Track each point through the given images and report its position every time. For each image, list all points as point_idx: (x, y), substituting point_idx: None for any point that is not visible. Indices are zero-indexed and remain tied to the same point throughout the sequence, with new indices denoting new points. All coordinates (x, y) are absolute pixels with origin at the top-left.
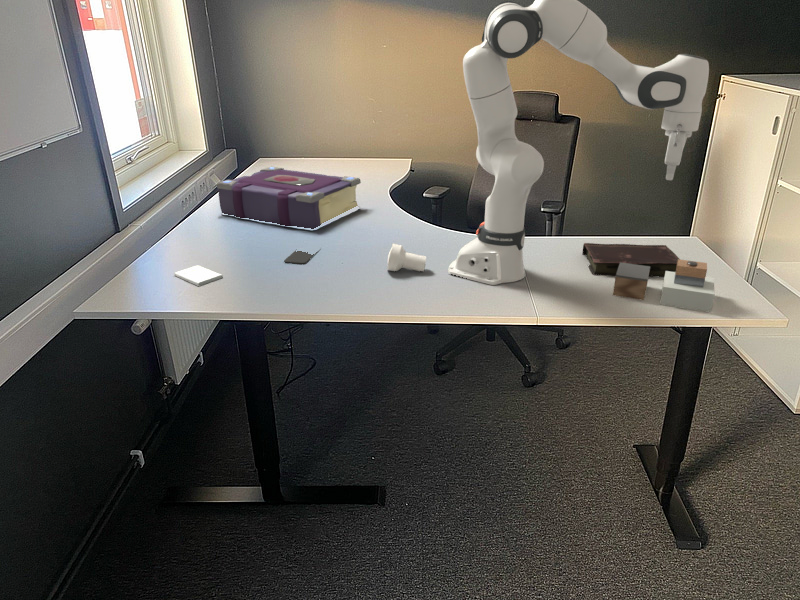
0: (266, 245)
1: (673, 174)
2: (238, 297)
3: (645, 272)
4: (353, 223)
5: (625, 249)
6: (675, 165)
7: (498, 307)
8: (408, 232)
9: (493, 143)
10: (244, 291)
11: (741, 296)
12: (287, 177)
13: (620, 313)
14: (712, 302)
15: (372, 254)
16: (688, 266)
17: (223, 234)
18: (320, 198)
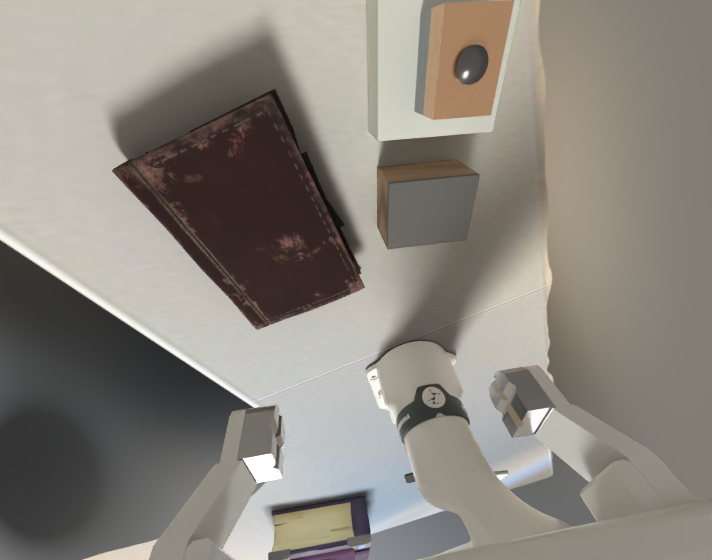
0: (413, 492)
1: (565, 399)
2: (523, 452)
3: (435, 187)
4: (320, 494)
5: (242, 257)
6: (670, 480)
7: (521, 328)
8: (316, 465)
9: None
10: (512, 455)
11: None
12: None
13: (524, 189)
14: None
15: (402, 452)
16: (493, 77)
17: (401, 511)
18: (353, 538)
